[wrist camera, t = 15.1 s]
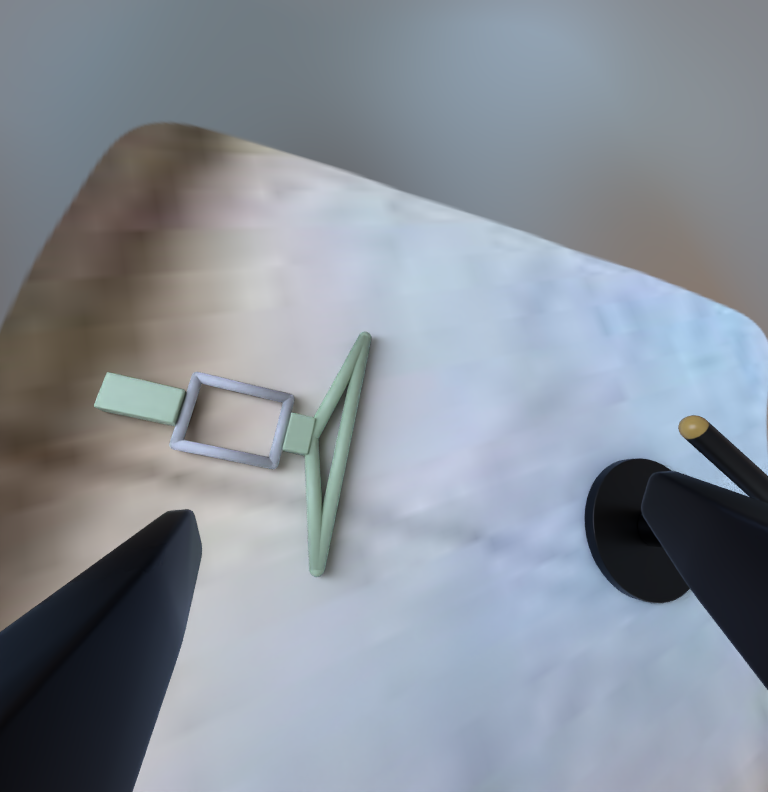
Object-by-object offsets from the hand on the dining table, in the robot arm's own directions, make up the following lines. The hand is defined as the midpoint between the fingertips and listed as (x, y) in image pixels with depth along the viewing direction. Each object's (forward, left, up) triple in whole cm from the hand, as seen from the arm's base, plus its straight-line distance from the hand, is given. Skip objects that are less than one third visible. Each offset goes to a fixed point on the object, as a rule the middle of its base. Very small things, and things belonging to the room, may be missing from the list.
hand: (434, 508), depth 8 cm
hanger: (+3, 0, -12) cm, 13 cm away
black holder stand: (+5, -16, -13) cm, 21 cm away
